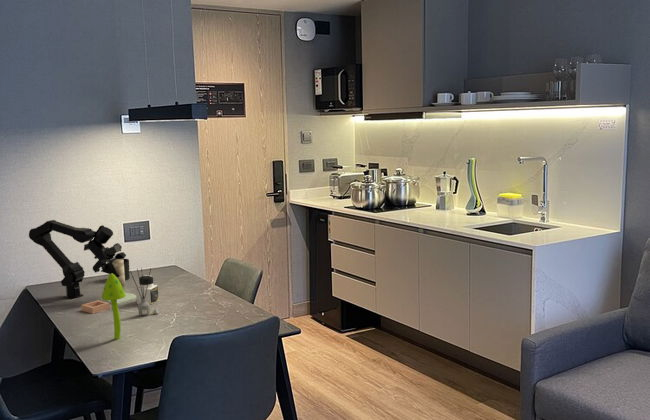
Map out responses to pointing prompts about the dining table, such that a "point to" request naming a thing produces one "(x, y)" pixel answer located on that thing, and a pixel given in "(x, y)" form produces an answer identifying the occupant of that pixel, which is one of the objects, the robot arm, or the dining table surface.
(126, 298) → the sage board
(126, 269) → the pen holder
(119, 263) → the beige ribbed peg
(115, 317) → the mushroom
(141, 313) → the reed diffuser
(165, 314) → the dining table surface
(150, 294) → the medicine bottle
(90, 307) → the terracotta socket
